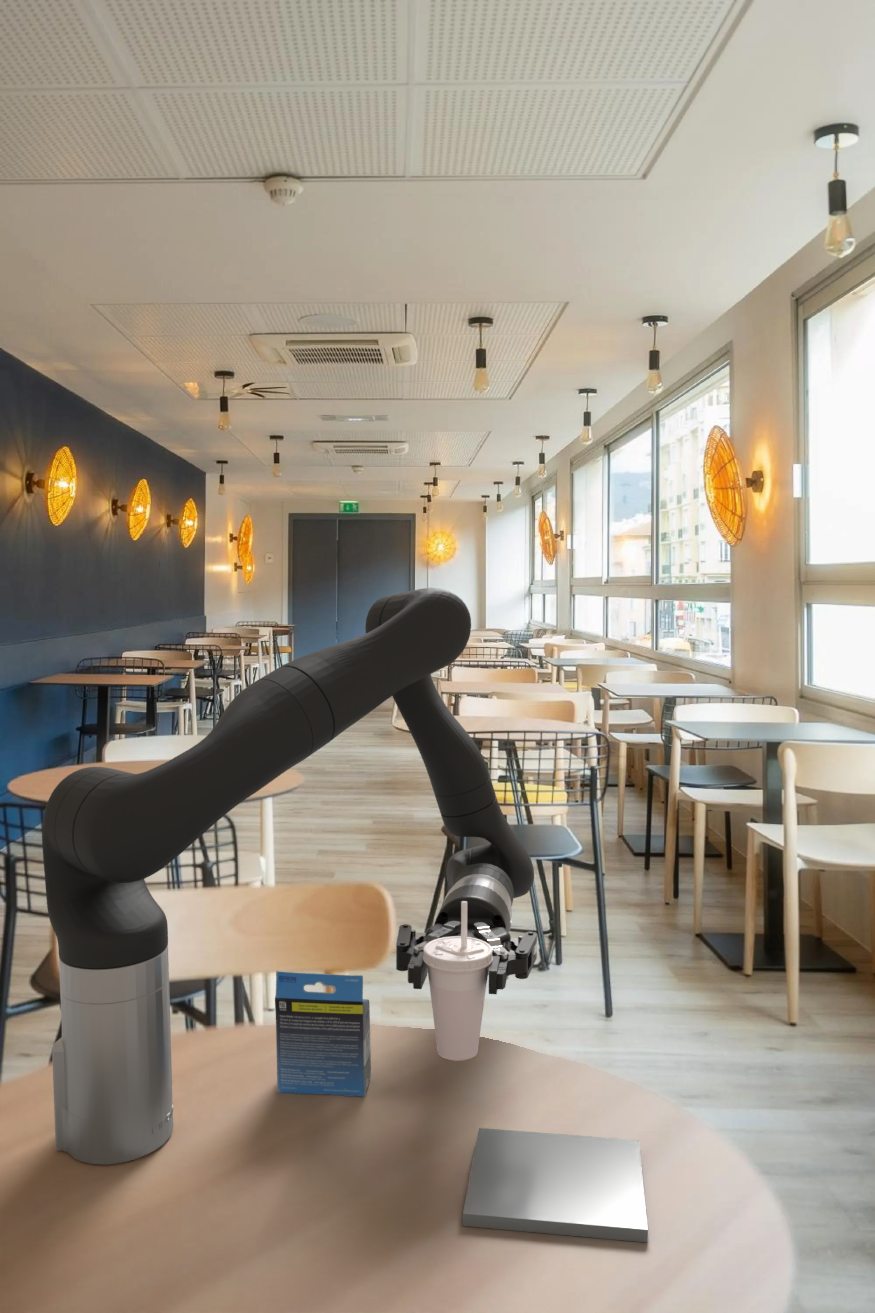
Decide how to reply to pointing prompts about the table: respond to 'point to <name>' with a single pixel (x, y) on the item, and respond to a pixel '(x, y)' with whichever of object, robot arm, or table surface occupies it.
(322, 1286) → the table surface
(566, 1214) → the metal board
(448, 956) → the smoothie
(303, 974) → the label tape box
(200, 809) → the robot arm
